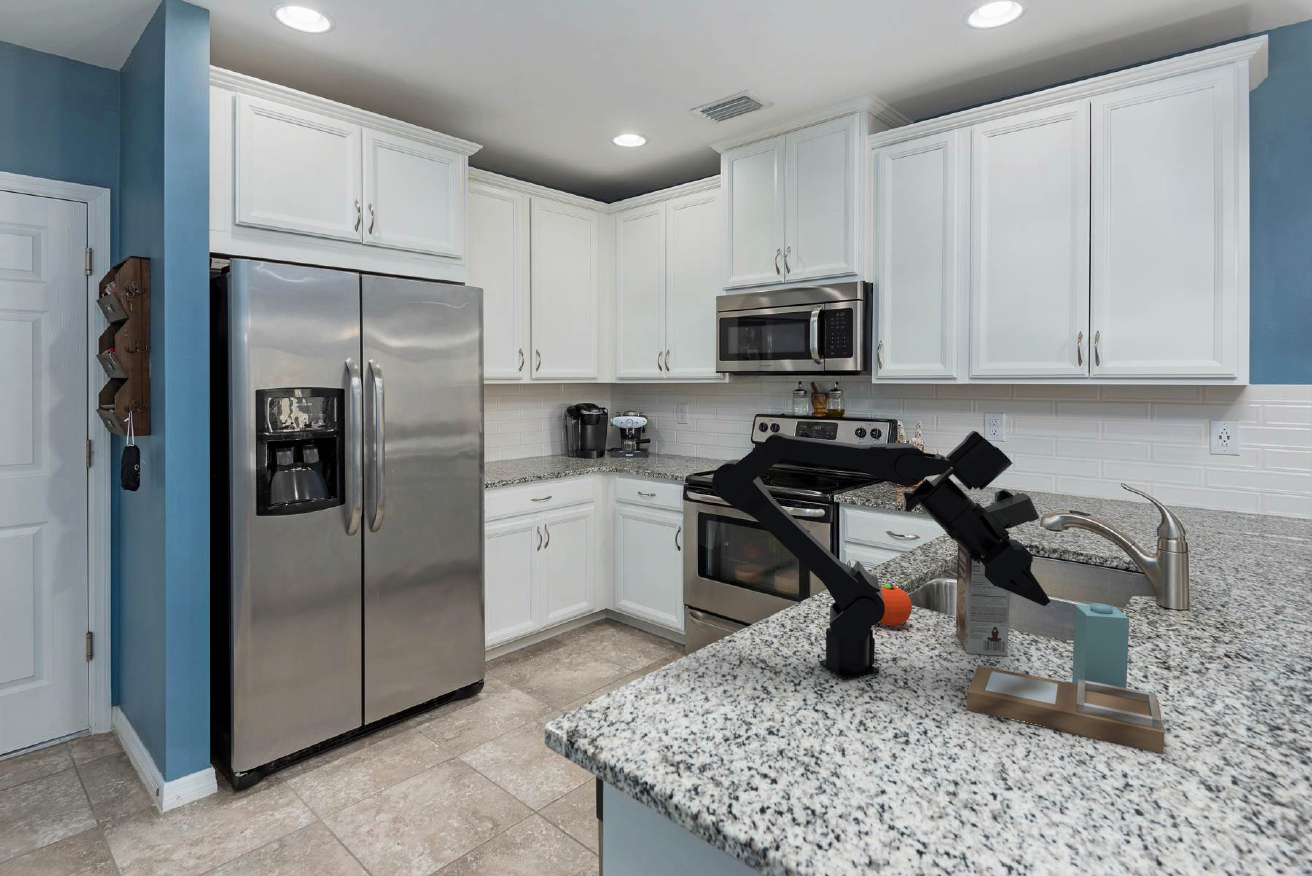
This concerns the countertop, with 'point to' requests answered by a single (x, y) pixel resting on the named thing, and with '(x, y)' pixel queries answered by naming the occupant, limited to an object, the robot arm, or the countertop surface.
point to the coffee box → (980, 610)
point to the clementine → (895, 605)
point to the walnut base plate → (1070, 706)
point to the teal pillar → (1100, 645)
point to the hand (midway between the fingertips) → (1037, 593)
